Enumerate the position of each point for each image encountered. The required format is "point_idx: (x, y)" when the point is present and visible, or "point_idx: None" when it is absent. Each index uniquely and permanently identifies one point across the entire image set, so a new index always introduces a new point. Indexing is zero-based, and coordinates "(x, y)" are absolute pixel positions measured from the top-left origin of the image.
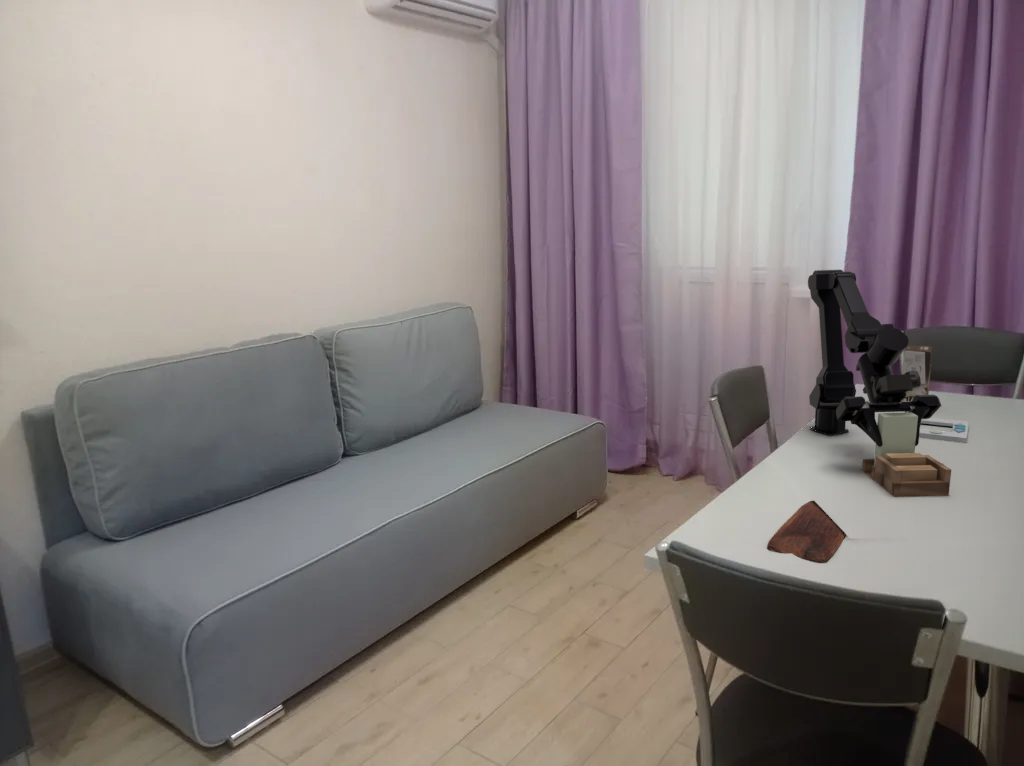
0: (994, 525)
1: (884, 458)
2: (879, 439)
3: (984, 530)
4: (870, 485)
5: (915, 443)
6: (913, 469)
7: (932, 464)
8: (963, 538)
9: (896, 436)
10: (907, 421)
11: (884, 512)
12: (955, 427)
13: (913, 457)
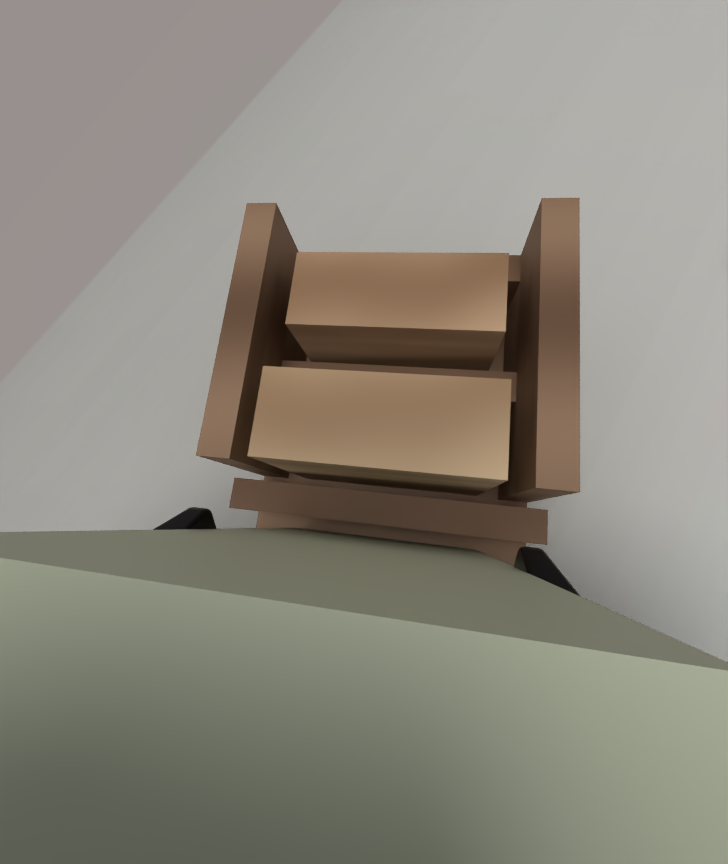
0: (300, 111)
1: (537, 431)
2: (562, 583)
3: (355, 80)
4: (536, 505)
5: (208, 523)
6: (427, 264)
7: (259, 346)
8: (454, 31)
9: (367, 557)
10: (146, 553)
11: (620, 210)
12: None
13: (347, 371)
